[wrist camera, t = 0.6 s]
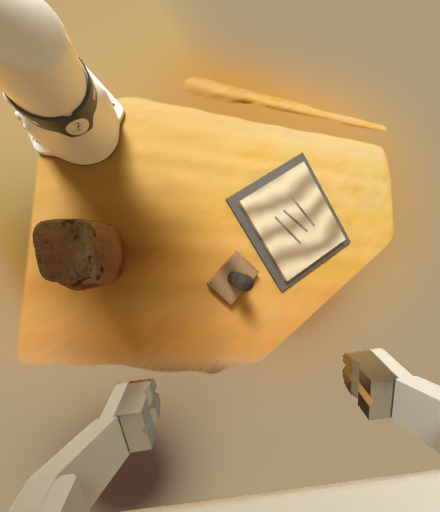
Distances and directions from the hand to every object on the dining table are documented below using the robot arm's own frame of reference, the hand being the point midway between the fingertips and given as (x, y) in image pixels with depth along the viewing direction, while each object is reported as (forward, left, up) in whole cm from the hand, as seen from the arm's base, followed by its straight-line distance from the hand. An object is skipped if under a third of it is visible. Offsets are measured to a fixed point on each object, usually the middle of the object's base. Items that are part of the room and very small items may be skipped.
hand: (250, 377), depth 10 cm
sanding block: (+6, +9, -43) cm, 45 cm away
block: (-13, -11, -43) cm, 47 cm away
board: (+3, +29, -42) cm, 51 cm away
